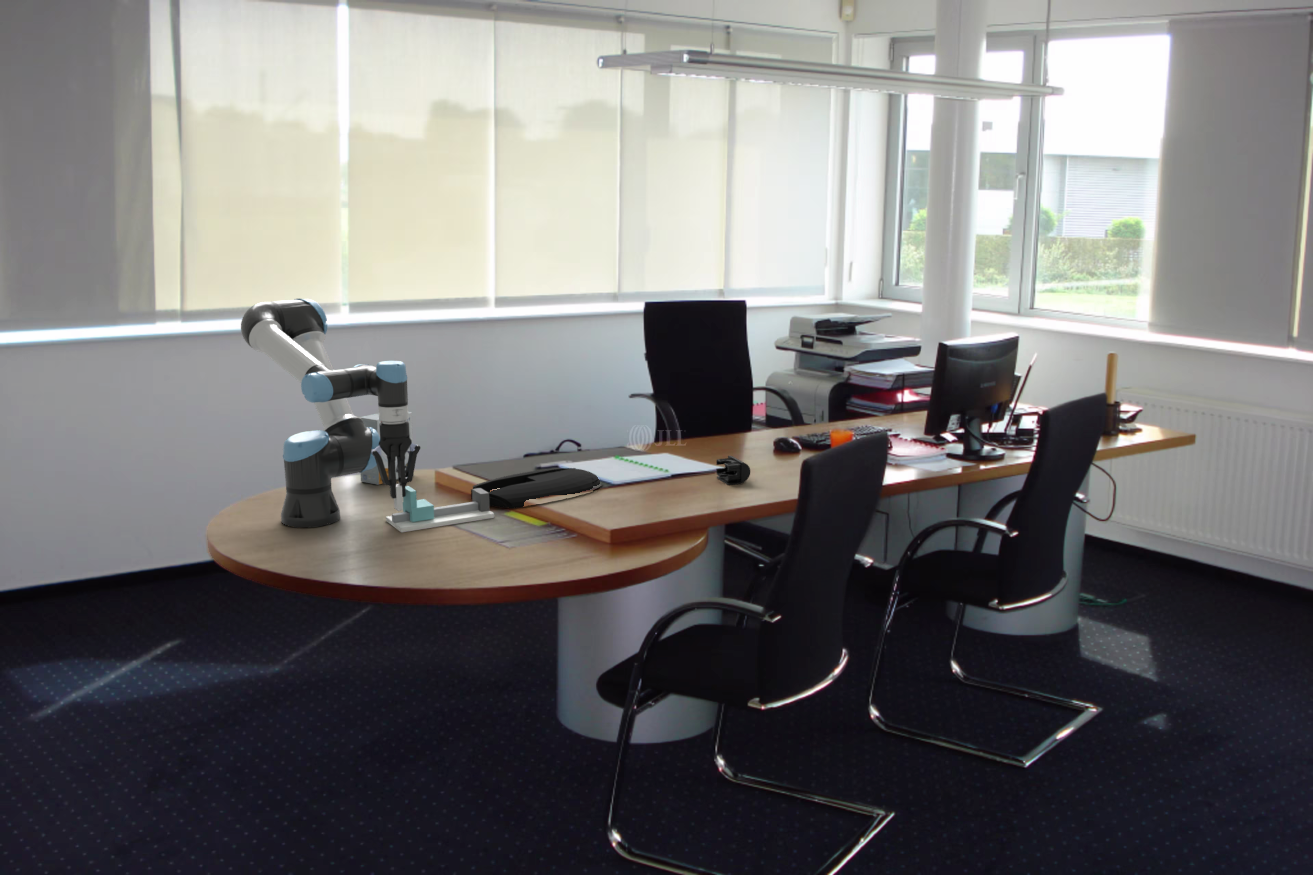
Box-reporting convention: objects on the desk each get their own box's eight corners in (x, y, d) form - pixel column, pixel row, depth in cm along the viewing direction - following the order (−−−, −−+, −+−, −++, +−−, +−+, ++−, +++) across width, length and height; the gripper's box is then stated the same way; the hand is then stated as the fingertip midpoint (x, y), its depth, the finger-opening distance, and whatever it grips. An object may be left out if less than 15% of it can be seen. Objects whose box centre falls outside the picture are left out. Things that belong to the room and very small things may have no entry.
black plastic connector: (750, 483, 355) (750, 461, 354) (728, 486, 353) (729, 463, 351) (736, 476, 364) (737, 454, 363) (715, 478, 362) (715, 456, 360)
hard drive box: (378, 486, 352) (375, 420, 347) (360, 482, 356) (356, 417, 351) (415, 474, 365) (412, 411, 360) (396, 471, 369) (393, 408, 364)
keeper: (412, 522, 310) (411, 492, 309) (403, 515, 316) (401, 486, 315) (434, 518, 313) (433, 489, 312) (424, 512, 319) (423, 483, 318)
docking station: (620, 490, 350) (620, 473, 348) (502, 514, 325) (502, 496, 323) (571, 473, 368) (571, 457, 367) (457, 495, 343) (456, 478, 342)
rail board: (401, 532, 307) (400, 509, 305) (386, 520, 317) (384, 498, 315) (494, 517, 320) (493, 495, 318) (476, 507, 330) (476, 485, 328)
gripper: (373, 426, 300) (378, 516, 305) (423, 421, 306) (427, 509, 311) (365, 421, 306) (370, 509, 311) (413, 416, 312) (417, 502, 317)
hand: (398, 509), depth 311 cm, fingers closed
